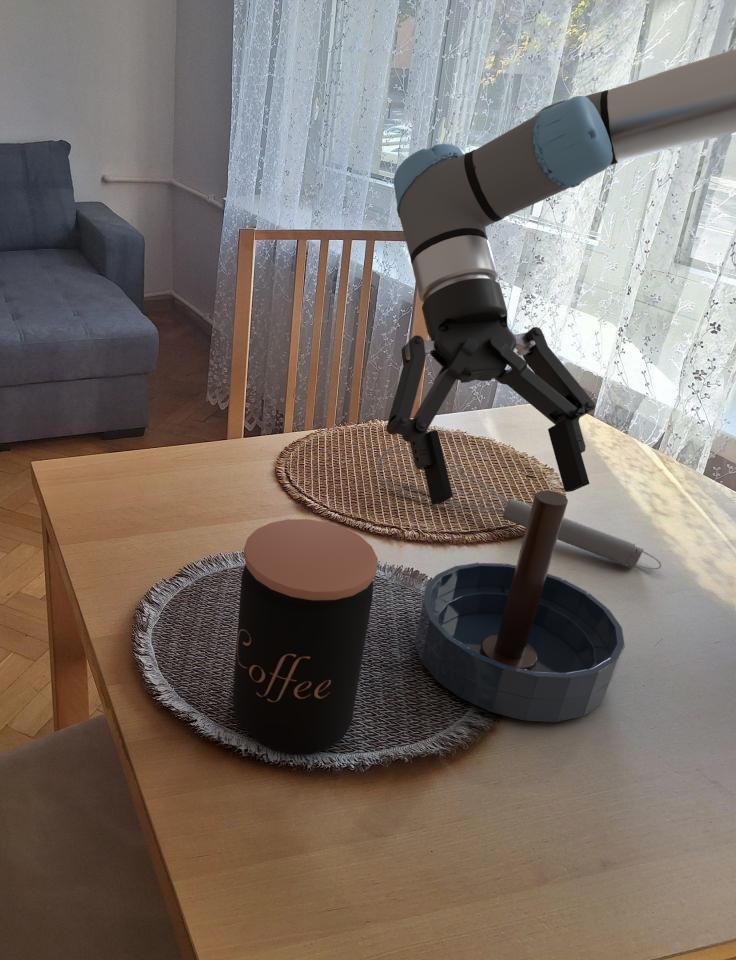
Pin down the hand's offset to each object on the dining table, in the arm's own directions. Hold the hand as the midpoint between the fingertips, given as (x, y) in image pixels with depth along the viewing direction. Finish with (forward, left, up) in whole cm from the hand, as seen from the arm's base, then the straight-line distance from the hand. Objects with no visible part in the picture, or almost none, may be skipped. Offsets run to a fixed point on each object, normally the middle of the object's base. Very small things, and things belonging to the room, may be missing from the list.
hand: (510, 494), depth 81 cm
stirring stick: (-3, +5, -15) cm, 16 cm away
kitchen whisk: (-2, -23, -16) cm, 28 cm away
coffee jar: (+15, +20, -16) cm, 30 cm away
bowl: (-3, +5, -16) cm, 17 cm away
